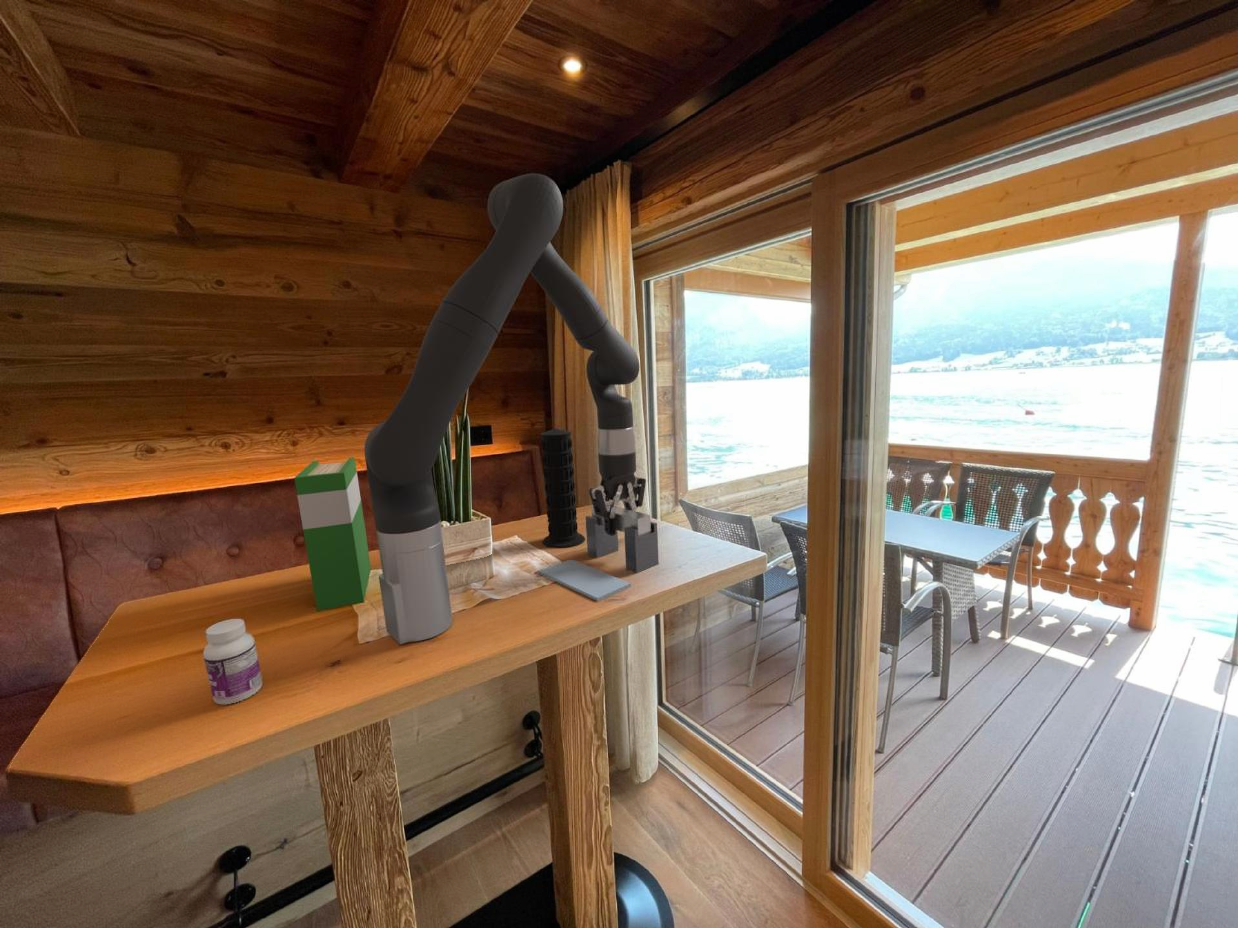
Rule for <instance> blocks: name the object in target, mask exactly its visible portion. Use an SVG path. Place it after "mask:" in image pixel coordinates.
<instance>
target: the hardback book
mask: <svg viewBox="0 0 1238 928" xmlns="http://www.w3.org/2000/svg"><path fill="white" fill-rule="evenodd" d="M294 484H295V490H296V496H297V501H298V507H299V513H300V518H301V525H302V531H303V536H304V543H305V548H306V553H307V559H308V566H309V571H310V576H311V577H310V578H311V583H312V588H313V589H312V590H313V593H314V600H315V606H316V612H319V611H326V610H332V609H336V608H342V607H343V608H344V607H347V606H352V605H359V604H362V603H363V604H364V603H365V598H366V594H367V588H368V584H369V580H370V576H369V575H371V571H372V566H371V561H370V560H371V559H370V553H369V546H368V537H367V533H366V532H367V531H366V524H365V519H364V512H363V505H362V499H361V492H360V485H359V484H360V483H359V477H358V472H357V463H356V458H355V456H353V457H349V458H348V459H347V461H341V462H329V463H320V462H319V460H314V461H312V462H311V463H310V464H308V465H307V466H306V467H305V468H304V469H302V470H301V471H300V472H299V473H298V474H297V475H296V476H295V477H294ZM358 603H359V604H358Z"/></svg>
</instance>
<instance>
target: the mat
mask: <svg viewBox="0 0 1238 928" xmlns="http://www.w3.org/2000/svg"><path fill="white" fill-rule="evenodd" d="M538 574H539V575H541V576H542V577H545V578H548V579H550V580H552V581H553V582H555V583H558V584H560V585H562V586H565V587H567V588H569V589H571V590H573V591H575V592H577V593H579V594H581V595H583V596H586V597H588V598H590V599H592V600H594V601H597V602H599V601H602V600H603V599H606V598H608V597H610V596H612V595H614V594H617V593H619V592H621V591H623V590H626V589H628V588H631V586H632V583H631V582H628V581H626V580H624V579H620V578H619V577H615V576H613V575H611V574H609V573H606V572H604V571H601V570H599V569H596V568H593V567H591V566H588V565H586V564H584V563H581V562H578V561H577V560H575V559H574V560H573V559H568V560H565V561H563V562H562V561H561V562H559V563H557V564H556V563H555V564H553V565H551V566H549V567H545V568H543V569H540V570H538Z"/></svg>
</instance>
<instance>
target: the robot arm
mask: <svg viewBox="0 0 1238 928" xmlns="http://www.w3.org/2000/svg"><path fill="white" fill-rule="evenodd" d="M487 214H488V218H489V220H490V222H491V225H492V227H493V228H494V229H495V233H494V235H493V236H492V239H491V240H490V242H489V243H488V245H487V247H486V248H485V249H484V250H483V252H482V253H481V254H480V255H479V257H477V258H476V259H475V261H474V262H473V263H472V264H470V266H469V267H468V268H467V269H466V270H465V271H464V272H463V273H462V274H461V275H460V277H459V278H458V279H457V280H456V281H455V283H453V285H452V286H451V287H450V289H449V290H448V291H447V293H445V296H444V298H443V299H442V301H441V303H440V305H439V306H438V309H436V312H435V314H434V316H433V318H432V320H431V321H430V324H429V326H428V328H427V330H426V333H425V335H424V338H423V341H422V342H421V343H422V344H421V345H420V349H419V352H418V355H417V358H416V362H415V365H414V368H413V371H412V375H411V377H410V380H409V382H408V384H407V385H406V386H407V387H406V389H405V390H404V392H403V393H402V395H401V397H400V399H399V400H398V401H397V403H396V405H395V407H394V408H393V410H392V412H391V413H390V414H389V416H388V418H387V419H386V420H385V421H383V422H381V423H379V424H377V425H376V426H375V427H373V428H372V430H370V432H369V433H368V434H367V437H366V440H365V442H364V451H363V452H364V458H365V459H364V460H365V466H366V474H367V479H368V485H369V491H370V492H369V493H370V501H371V506H372V512H373V518H374V523H375V530H376V536H377V544H378V551H379V559H380V563H381V565H380V566H381V572H382V574H381V573H380V575H379V576H378V579H379V580H378V581H379V588H380V594H381V601H382V602H381V603H382V608H383V609H382V610H383V616H384V623H385V628H386V630H385V631H386V632H387V633H388V634H389V635H390V637H392V639H394V640H395V641H396V642H397V643H398V645H404V644H406V643H412V642H420V641H423V640H424V641H425V640H427V639H431V638H434V637H436V636H439V635H440V634H442V633H445V631H447V630H448V629H449V628H450V627H451V625H452V623H453V616H452V615H453V614H452V605H451V599H450V589H449V583H448V582H449V581H448V573H447V565H446V558H445V546H444V541H443V539H444V538H443V532H442V530H443V529H442V523H441V522H442V521H441V513H440V506H439V502H438V499H437V495H436V492H435V487H434V479H433V473H432V472H433V471H432V468H433V466H434V464H435V462H436V459H437V457H438V454H439V451H440V448H441V445H442V443H443V441H444V438H445V435H446V432H447V430H448V428H449V425H450V423H451V420H452V418H453V416H454V413H455V412H456V409H457V407H458V405H459V404H460V402H461V400H462V399H463V397H464V396H465V395H466V393H467V391H468V389H469V388H470V386H471V385H472V383H473V382H474V379H475V378H476V376H477V374H478V372H479V370H480V369H481V367H482V366H483V363H484V362H485V360H486V359H487V357H488V356H489V354H490V351H491V350H492V348H493V346H494V343H495V341H496V340H497V338H498V336H499V334H500V332H501V329H502V327H503V325H504V323H505V321H506V319H507V317H508V315H509V313H510V311H511V309H512V307H513V306H514V303H515V302H516V300H517V298H518V296H519V294H520V292H521V290H522V288H523V285H524V283H525V281H526V279H527V278H528V276H529V274H530V275H532V277H534V280H535V281H536V282H537V283H538V285H540V287H541V289H542V290H543V291H544V293H545V294H546V295H547V297H548V298H549V300H550V301H551V303H552V304H553V305H554V307H555V308H556V310H557V312H558V313H559V315H560V317H561V318H562V320H563V321H564V323H565V325H566V326H567V328H568V330H569V332H570V333H571V335H572V337H573V338H574V340H575V341H576V343H577V344H578V345H579V346H580V347H581V348H582V349H584V350H587V351H591V353H590V354H589V356H588V358H587V360H586V366H585V367H586V369H585V370H586V378H587V380H588V381H587V382H588V385H589V387H590V391H591V394H592V398H593V400H594V404H595V406H596V415H597V456H598V473H599V474H600V476H601V480H600V483H599V486H596V488H593V487H592V488H589V490H588V493H589V494H588V495H589V496H590V501H591V503H592V504H591V505H592V506H593V507H594V511H595V514H596V515H598V516H601V517H604V525H605V526H604V527H605V532H606V533H607V534H608V535H611V536H613V535H616V526H615V518H614V516H615V511H616V507H619V504H620V501H621V502H622V504H623V507H624V509H628V510H632V511H636V512H637V509H638V508H641V507H643V505H644V497H645V491H646V490H645V489H646V483H647V480H646V478H644V477H639V476H638V477H637V476H636V475H635V473H637V458H636V457H637V456H636V455H637V454H636V453H637V452H636V436H635V432H634V415H633V413H634V411H633V403H632V400H630V399H629V398H628V397H625V396H622V395H620V394H619V393H618V390H617V388H616V386H618V385H620V386H621V385H629V384H631V383H634V382H635V381H636V379H637V378H638V375H639V373H640V361H639V358H638V355H637V352H636V351H635V349H634V347H632V345H631V344H630V343H629V342H628V341H627V339H625V338H624V336H623V335H622V334H621V333H620V332H619V331H618V330H617V329H616V328H615V327H614V326H613V325H612V323H610V321H609V319H608V318H607V315H606V313H605V311H604V310H603V307H602V306H601V304H600V302H599V300H598V299H597V297H596V295H595V294H594V293H593V291H592V290H591V288H590V287H589V286H588V285H587V284H586V283H585V282H584V280H582V279H581V278H580V276H578V275H577V273H575V272H574V271H573V270H572V268H570V266H568V264H567V263H566V262H565V261H564V259H563V258H562V257H561V256H560V254H558V252H557V251H556V249H555V248H554V246H553V245H552V242H551V241H552V239H553V238H554V236H556V233H557V231H558V230H559V228H560V226H561V225H560V224H561V222H562V219H563V215H564V200H563V196H562V193H561V190H560V188H559V187H558V185H557V184H556V182H555V181H554V180H553V179H551V178H550V177H549V176H547V175H544V174H540V173H526V174H521V175H518V176H515V177H512V178H508V179H507V180H504V181H501V182H500V183H498V184H496V185H495V186H494V187H493V188H492V189H491V191H490V193H489V196H488V199H487ZM609 507H610V511H609Z"/></svg>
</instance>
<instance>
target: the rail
mask: <svg viewBox="0 0 1238 928" xmlns="http://www.w3.org/2000/svg"><path fill="white" fill-rule="evenodd" d="M590 508H591V516H592V517H595V518H598V525H602V526H605V525H604V517H601V516H598V515H596V514H595V511H594V507H593V505H592V506H591V507H590ZM609 511H610V507H609ZM614 518H615V526H616V530H617V532H618V531H619V532H622V533H625V532H624V528H625V527H630V528H634V529H637V530H638V536H641V535H644V534H647V533H649V532H651V522H652V521H651V514H648V513H643V512H640V511H637V510H636V511H632V510H628V509H625V508H623V507H619V506H618V507H616V511H615V516H614ZM650 521H651V522H650Z"/></svg>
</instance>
